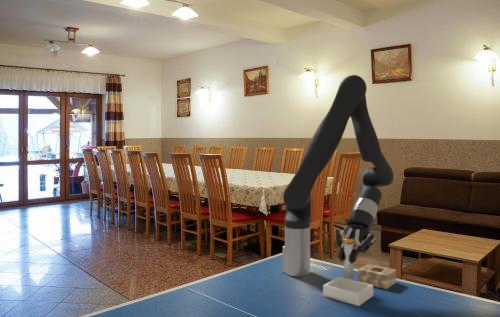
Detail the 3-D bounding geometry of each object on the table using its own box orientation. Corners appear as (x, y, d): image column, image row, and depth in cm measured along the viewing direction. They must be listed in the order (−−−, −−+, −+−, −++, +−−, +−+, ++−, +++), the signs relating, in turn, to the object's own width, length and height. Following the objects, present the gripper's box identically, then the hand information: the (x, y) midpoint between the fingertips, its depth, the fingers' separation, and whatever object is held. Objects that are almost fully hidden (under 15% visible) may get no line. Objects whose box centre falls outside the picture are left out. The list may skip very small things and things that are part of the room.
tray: (323, 296, 130) (323, 285, 130) (338, 287, 138) (338, 276, 138) (358, 306, 123) (358, 294, 122) (373, 295, 130) (373, 284, 130)
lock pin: (341, 277, 130) (340, 239, 129) (346, 274, 132) (346, 236, 132) (351, 280, 127) (351, 240, 127) (356, 277, 130) (356, 238, 129)
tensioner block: (358, 282, 142) (358, 269, 142) (368, 276, 148) (368, 263, 148) (386, 289, 136) (386, 275, 135) (396, 282, 142) (396, 269, 141)
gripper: (339, 206, 139) (321, 250, 130) (380, 210, 130) (363, 258, 121) (347, 219, 143) (330, 263, 135) (387, 224, 134) (371, 271, 126)
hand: (345, 260), depth 128 cm, fingers closed on lock pin, 2 cm apart
